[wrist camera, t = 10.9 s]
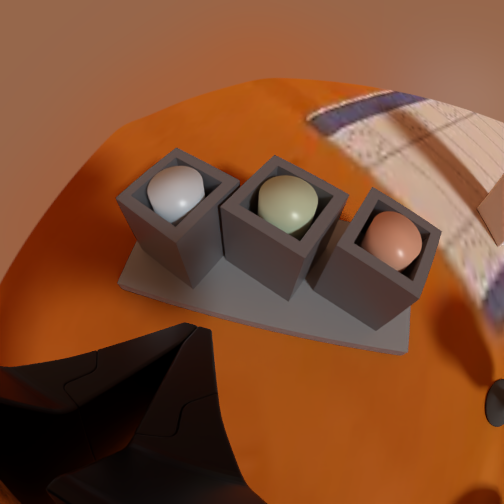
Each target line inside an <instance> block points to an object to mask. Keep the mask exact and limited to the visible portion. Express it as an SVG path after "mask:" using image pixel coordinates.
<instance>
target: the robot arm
mask: <svg viewBox="0 0 504 504" xmlns="http://www.w3.org/2000/svg"><path fill="white" fill-rule="evenodd" d="M0 504H267V503H266V502H265V501H264V500H262V499H261V498H260V497H259V496H258V495H257V494H256V493H255V492H254V491H252V490H251V489H250V487H249V486H248V485H247V483H246V482H245V480H244V478H243V476H242V474H241V472H240V469H239V467H238V464H237V462H236V459H235V456H234V454H233V451H232V448H231V446H230V443H229V440H228V437H227V434H226V431H225V428H224V424H223V421H222V417H221V412H220V406H219V398H218V391H217V382H216V372H215V362H214V352H213V341H212V331H211V330H210V329H207V328H203V327H197V326H196V325H193V324H189V323H181V324H178V325H175V326H172V327H169V328H166V329H163V330H160V331H157V332H154V333H151V334H148V335H145V336H141V337H138V338H135V339H132V340H129V341H125V342H122V343H119V344H116V345H112V346H109V347H106V348H102V349H99V350H98V351H92V352H89V353H85V354H81V355H77V356H73V357H69V358H65V359H60V360H54V361H49V362H43V363H37V364H30V365H24V366H17V367H3V366H0Z"/></svg>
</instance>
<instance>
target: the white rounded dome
mask: <svg viewBox="0 0 504 504" xmlns="http://www.w3.org/2000/svg"><path fill="white" fill-rule="evenodd" d="M147 193H148V197H149V199H150V202H151V205H152V207H153V210H154V212H155V213H156V214H158V215H159V216H161V217H162V218H163V219H165V220H166V221H168V222H169V223H171V224H172V225H173V226H175V227H176V226H177V225H178V224H179V223H180V222H181V221H182V220H183V219H184V218H185V217H186V216H187V215H188V214H189V213H190V212H192V211H193V210H194V209H195V208H196V207H197V206H198V205H199V204H200V203H201V202H202V201H203V200H204V199H205V193H204V186H203V179H202V176H201V175H200V173H199V172H198V171H196V170H195V169H193V168H191V167H187V166H173V167H169V168H166V169H164V170H162V171H160V172H159V173H157V174H156V175H155V176H154V177H153V178H152V179H151V181H150V183H149V185H148V189H147Z"/></svg>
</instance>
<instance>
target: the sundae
mask: <svg viewBox="0 0 504 504" xmlns="http://www.w3.org/2000/svg"><path fill="white" fill-rule="evenodd" d="M486 415H487V419H488V421H489V422H490V424H491V425H493V426H495V427H499V426H501V425H503V424H504V379H501V380H498V381H496V382H495V383H494V384H493V385H492V387H491V388H490V390H489V393H488V395H487V399H486Z"/></svg>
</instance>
